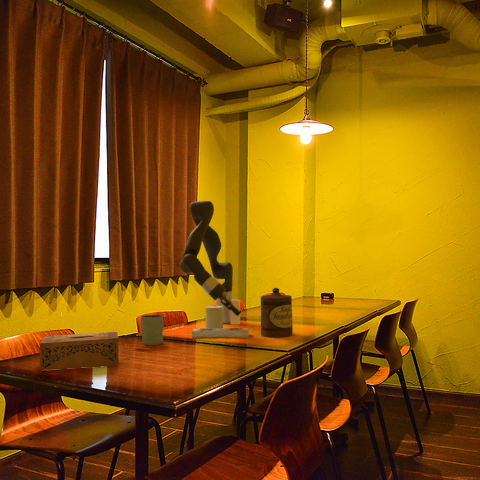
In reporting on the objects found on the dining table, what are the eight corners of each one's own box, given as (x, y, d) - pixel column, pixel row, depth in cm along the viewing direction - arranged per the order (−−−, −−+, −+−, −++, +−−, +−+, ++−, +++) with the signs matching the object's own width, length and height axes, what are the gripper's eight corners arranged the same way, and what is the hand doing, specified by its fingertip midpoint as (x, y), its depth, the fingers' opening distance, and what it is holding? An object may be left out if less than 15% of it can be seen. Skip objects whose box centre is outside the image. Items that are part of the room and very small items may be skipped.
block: (231, 323, 225) (231, 299, 226) (240, 323, 225) (239, 299, 225) (230, 324, 221) (230, 300, 222) (239, 324, 221) (238, 300, 221)
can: (224, 327, 247) (224, 304, 248) (222, 330, 238) (221, 306, 239) (207, 328, 248) (206, 304, 249) (203, 331, 239) (203, 306, 239)
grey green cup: (158, 345, 204) (158, 317, 204) (136, 345, 206) (136, 317, 206) (167, 341, 214) (166, 314, 214) (145, 340, 216) (145, 314, 216)
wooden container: (276, 339, 214) (275, 289, 214) (254, 334, 225) (253, 288, 226) (299, 334, 223) (298, 287, 224) (277, 331, 235) (276, 286, 235)
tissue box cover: (117, 357, 183) (117, 331, 183) (118, 366, 169) (118, 337, 169) (45, 363, 176) (44, 336, 176) (40, 372, 162) (39, 343, 162)
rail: (195, 334, 229) (195, 327, 229) (249, 334, 227) (249, 327, 227) (191, 337, 221) (191, 330, 221) (247, 337, 219) (247, 330, 219)
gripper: (216, 283, 217) (243, 309, 216) (221, 281, 232) (246, 306, 230) (205, 295, 218) (232, 321, 216) (210, 292, 232) (235, 317, 230)
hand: (239, 313), depth 223 cm, fingers closed on block, 4 cm apart
